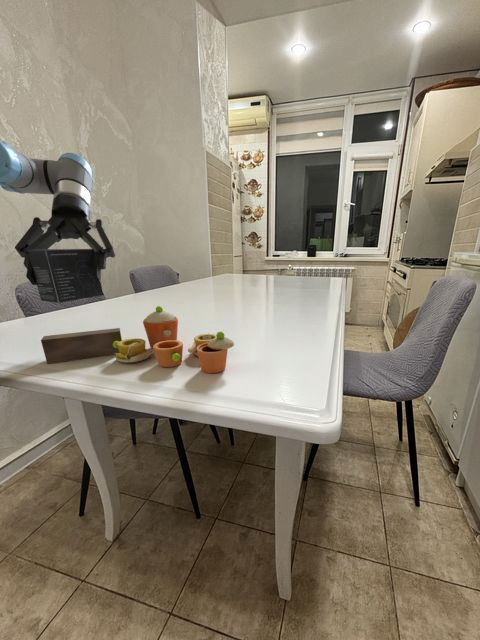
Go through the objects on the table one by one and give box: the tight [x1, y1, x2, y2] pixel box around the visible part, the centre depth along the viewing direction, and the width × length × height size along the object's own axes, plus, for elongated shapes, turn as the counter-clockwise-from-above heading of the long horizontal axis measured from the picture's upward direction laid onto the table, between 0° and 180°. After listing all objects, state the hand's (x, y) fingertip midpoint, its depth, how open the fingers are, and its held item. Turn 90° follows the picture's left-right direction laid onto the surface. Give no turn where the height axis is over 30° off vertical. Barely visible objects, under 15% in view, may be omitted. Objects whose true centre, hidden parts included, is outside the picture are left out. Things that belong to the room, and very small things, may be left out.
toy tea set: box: [113, 305, 235, 374], centre depth 60 cm, size 26×16×10 cm, turn 72°
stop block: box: [40, 327, 123, 365], centre depth 61 cm, size 14×3×5 cm, turn 116°
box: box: [28, 248, 104, 304], centre depth 63 cm, size 11×7×10 cm, turn 154°
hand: (65, 280), depth 61 cm, fingers closed on box, 11 cm apart
